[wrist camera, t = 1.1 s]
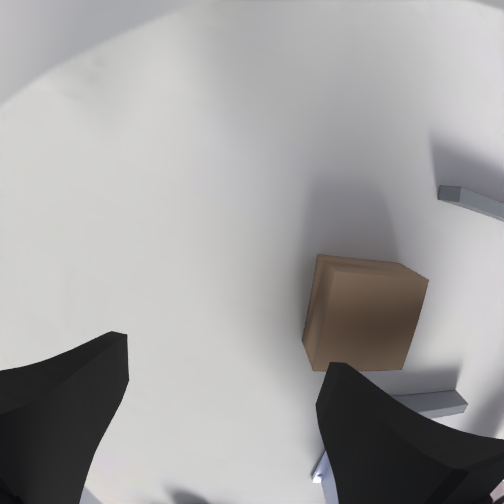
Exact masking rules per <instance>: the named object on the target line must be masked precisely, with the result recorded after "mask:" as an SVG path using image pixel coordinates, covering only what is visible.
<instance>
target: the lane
mask: <svg viewBox="0 0 504 504" xmlns="http://www.w3.org/2000/svg"><path fill="white" fill-rule="evenodd" d="M438 200H442V201H445V202H448V203H451V204H455V205H458V206H461V207H464V208H467V209H470V210H473V211H476V212H479V213H482V214H485V215H487V216H490V217H493V218H496V219H499V220H501V221H504V204H503V203H501V202H498V201H496V200H494V199H491V198H489V197H486V196H484V195H481V194H479V193H476V192H473V191H471V190H468V189H465V188H463V187H455V186H441V185H440V189H439V196H438ZM391 397H393V398H394V399H396V400H397V401H399V402H400V403H402V404H403V405H405V406H406V407H408V408H410V409H411V410H413V411H415V412H417V413H419V414H421V415H423V416H425V417H426V418H428V419H431V418H437V417H443V416H449V415H454V414H459V413H464V411H465V409H466V407H467V406H468V403H467V402H466V401H465V400H464V399H463V398H462V396H461V395H460V394H459V393H458V392H457V391H456V390H451V391H443V392H434V393H424V394H413V395H399V396H391Z"/></svg>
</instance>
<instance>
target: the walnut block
mask: <svg viewBox="0 0 504 504" xmlns="http://www.w3.org/2000/svg"><path fill="white" fill-rule="evenodd" d="M428 282H429V280H428V279H427V278H425V277H423V276H421V275H420V274H418V273H416V272H414V271H413V270H411V269H409V268H407V267H406V266H404V265H402V264H400V263H391V262H383V261H374V260H365V259H356V258H347V257H338V256H328V255H319V254H318V256H317V262H316V268H315V274H314V280H313V285H312V291H311V296H310V302H309V307H308V313H307V318H306V323H305V328H304V333H303V338H302V342H303V344H304V347H305V350H306V353H307V356H308V358H309V361H310V364H311V367H312V370H313V371H327V369H328V366H329V363H330V362H344V363H347V364H348V365H350V366H351V367H353V368H354V369H355V370H357V371H385V370H402V367H403V365H404V362H405V359H406V356H407V353H408V350H409V348H410V345H411V342H412V338H413V335H414V332H415V329H416V326H417V322H418V319H419V316H420V312H421V309H422V305H423V301H424V298H425V294H426V290H427V286H428Z"/></svg>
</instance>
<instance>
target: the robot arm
mask: <svg viewBox="0 0 504 504" xmlns="http://www.w3.org/2000/svg"><path fill="white" fill-rule="evenodd" d="M128 382H129V370H128V346H127V334H122V333H118V332H113V331H111V332H108V333H106V334H103V335H101V336H99V337H97V338H95V339H93V340H91V341H89V342H87V343H84V344H82V345H80V346H78V347H76V348H74V349H72V350H69V351H67V352H64V353H62V354H59V355H57V356H55V357H52V358H50V359H47V360H44V361H41V362H38V363H34V364H31V365H27V366H23V367H18V368H13V369H7V370H1V371H0V504H79V502H80V498H81V494H82V491H83V487H84V484H85V481H86V477H87V474H88V471H89V468H90V465H91V462H92V459H93V457H94V454H95V452H96V449H97V447H98V445H99V443H100V441H101V439H102V437H103V435H104V433H105V432H106V430H107V428H108V426H109V424H110V422H111V420H112V418H113V417H114V415H115V413H116V411H117V409H118V407H119V405H120V403H121V401H122V399H123V396H124V393H125V391H126V388H127V385H128ZM316 412H317V419H318V425H319V430H320V433H321V436H322V440H323V443H324V446H325V449H326V451H325V453H324V455H323V457H322V459H321V461H320V463H319V465H318V467H317V469H316V471H315V473H314V475H313V477H312V482H314V483H322V487H323V492H324V496H325V500H326V504H492V503H493V498H492V497H491V495H490V494H491V493H492V492H493V490H494V489H495V488H496V487H497V486H498V485H499V484H500V483H501V482H502V480H503V479H504V440H503V439H496V438H490V437H483V436H478V435H474V434H470V433H466V432H462V431H459V430H456V429H453V428H450V427H448V426H445V425H443V424H440V423H437V422H435V421H433V420H431V419H428V418H426V417H425V416H423V415H421V414H419V413H417V412H415V411H413V410H411V409H410V408H408V407H406V406H405V405H403V404H402V403H400V402H399V401H397V400H396V399H394V398H393V397H391V396H390V395H388V394H387V393H385V392H384V391H383V390H381V389H380V388H379V387H377V386H376V385H375V384H374V383H372V382H371V381H370V380H368V379H367V378H366V377H365V376H363V375H362V374H361V373H359V372H358V371H357V370H355V369H354V368H353V367H351V366H350V365H348V364H347V363H344V362H330V363H329V366H328V369H327V372H326V375H325V378H324V381H323V384H322V387H321V390H320V393H319V396H318V399H317V402H316ZM503 504H504V503H503Z"/></svg>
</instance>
